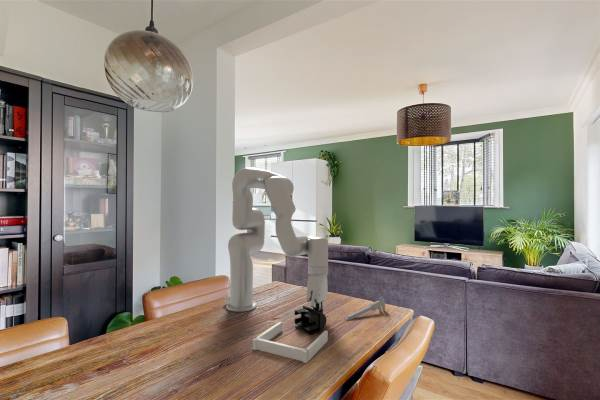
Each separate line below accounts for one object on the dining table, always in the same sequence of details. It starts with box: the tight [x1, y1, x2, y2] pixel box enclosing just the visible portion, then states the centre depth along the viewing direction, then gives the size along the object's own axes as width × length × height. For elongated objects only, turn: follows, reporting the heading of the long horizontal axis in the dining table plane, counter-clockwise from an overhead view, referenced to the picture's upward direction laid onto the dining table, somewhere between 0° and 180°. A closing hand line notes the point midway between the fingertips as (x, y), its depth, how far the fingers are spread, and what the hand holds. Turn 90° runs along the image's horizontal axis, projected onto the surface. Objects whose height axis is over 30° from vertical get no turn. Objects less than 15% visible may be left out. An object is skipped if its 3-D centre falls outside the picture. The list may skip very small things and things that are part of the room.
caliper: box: [344, 296, 386, 321], centre depth 122 cm, size 20×1×6 cm, turn 120°
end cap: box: [294, 305, 327, 336], centre depth 108 cm, size 10×7×7 cm
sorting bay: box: [252, 321, 329, 364], centre depth 96 cm, size 18×16×3 cm
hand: (318, 319), depth 114 cm, fingers closed
